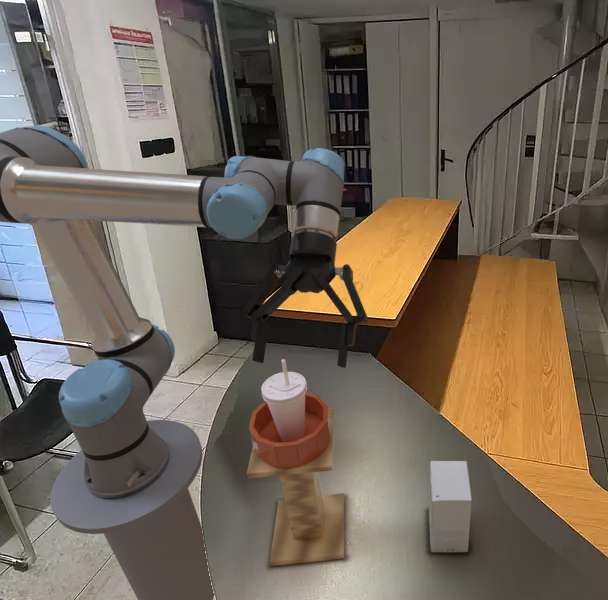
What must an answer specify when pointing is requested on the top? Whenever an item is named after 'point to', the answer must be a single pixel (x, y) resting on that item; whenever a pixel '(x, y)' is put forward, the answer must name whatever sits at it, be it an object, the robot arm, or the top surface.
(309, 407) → the bowl
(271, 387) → the smoothie
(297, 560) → the pedestal
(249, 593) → the top surface
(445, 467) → the small box
